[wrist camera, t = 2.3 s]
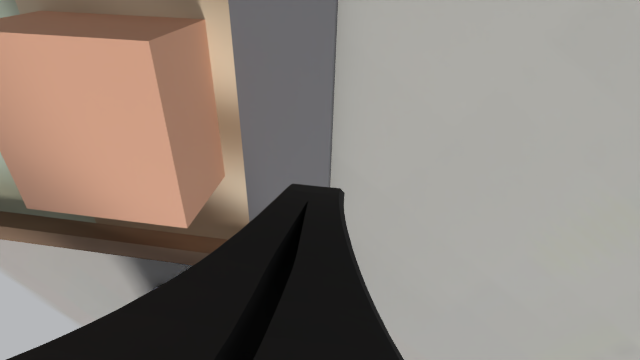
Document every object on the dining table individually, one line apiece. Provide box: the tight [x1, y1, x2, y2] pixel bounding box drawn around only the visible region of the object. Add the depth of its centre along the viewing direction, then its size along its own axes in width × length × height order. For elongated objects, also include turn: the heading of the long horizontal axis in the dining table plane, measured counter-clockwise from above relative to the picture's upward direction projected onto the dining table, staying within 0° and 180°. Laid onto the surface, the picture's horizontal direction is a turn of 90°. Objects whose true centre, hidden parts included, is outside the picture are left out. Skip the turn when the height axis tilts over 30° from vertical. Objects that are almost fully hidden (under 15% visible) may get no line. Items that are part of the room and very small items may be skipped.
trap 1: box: [228, 0, 338, 222], centre depth 16 cm, size 15×4×1 cm, turn 179°
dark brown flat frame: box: [0, 0, 249, 265], centre depth 17 cm, size 17×27×2 cm, turn 89°
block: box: [0, 11, 225, 228], centre depth 15 cm, size 7×7×4 cm
